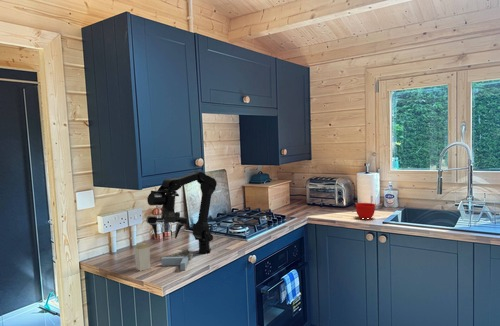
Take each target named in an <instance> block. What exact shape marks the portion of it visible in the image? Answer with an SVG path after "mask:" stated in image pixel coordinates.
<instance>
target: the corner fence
mask: <svg viewBox="0 0 500 326" xmlns="http://www.w3.org/2000/svg"><path fill="white" fill-rule="evenodd" d="M160 259H161V260H160V261H161V266H162V267H165V266H166V267H167V266H180V272H184V271H185V272H186V269H187V268H188V266H189V260H188V256H183V257H169V256H162V257H161V258H160Z"/></svg>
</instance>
